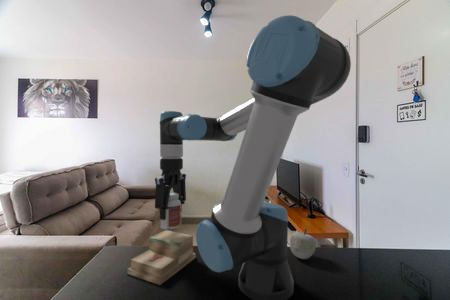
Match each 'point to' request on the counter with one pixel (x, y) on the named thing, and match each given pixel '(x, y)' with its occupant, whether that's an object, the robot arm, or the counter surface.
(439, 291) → the counter surface
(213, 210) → the robot arm
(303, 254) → the decorative object
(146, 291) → the counter surface
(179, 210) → the pill bottle
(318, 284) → the counter surface
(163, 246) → the stand
